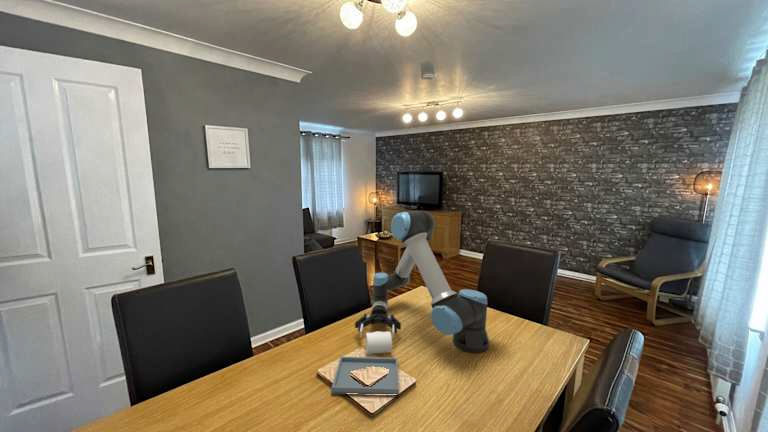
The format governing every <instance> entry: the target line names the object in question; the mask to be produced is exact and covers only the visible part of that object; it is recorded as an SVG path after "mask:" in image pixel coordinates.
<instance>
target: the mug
mask: <svg viewBox="0 0 768 432" xmlns="http://www.w3.org/2000/svg"><path fill="white" fill-rule="evenodd" d="M365 350H366V351H365V352H366V354H367V355H374V354H387V353H392V351H393V338H392V333H391V331H379V330H376V331H373V332H366V333H365Z"/></svg>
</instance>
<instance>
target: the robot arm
mask: <svg viewBox="0 0 768 432" xmlns="http://www.w3.org/2000/svg"><path fill="white" fill-rule="evenodd" d="M435 227H436V223H435V219H434V217H433V216H432V215H431V213H429V212H428V211H427V210H426V211H425V210H413V211H412V210H411V211H403V212H398V213H396V214H395V215H394V216H393V217H392V220H391V224H390V232H391V234H392V236H393V238H395V239H396V240H398V241H401V243H402V245H403V247H406V248H405V249H404V252H403V254H402V256H401V259H400V261H399V262H398V264H397V266H396V268H395V270H394V272H393V273H392V274H387V273H386V272H376V273H375V274H374V275H373V280H372V285H373V286H372V287H373V289H372V291H373V293H372V307H371V313H370V314H369V315H368V314H367V313H364V314H363V316H361V317H360V318H359V319H357V320H356V321H355V322H354V328H355V329H357V332H359V338H360V339H361V338H362V337H363V332H364V329H365V327H368V326H370V325H374V324H383V325H384V326H388V328H391V329H392V333H391V337H392V339H395V334H397V333H398V330H401V329H402V323H401V322H400V321H399V320H398V319H397V318H396V317H395V316H394V314H390V316H389V315H388V304H389V299H388V296H389V295H388V294H389V291H391V290H394V289H397V288H402V287H404V286H406V285H408V284H409V283H410V281H411V276H410V274H411V272H412V270H413V269H414V266H415V265H416V267H417V269H418V272H419V274H420V276H421V277H422V280H423V282H424V283H425V284H424V285H425V286H426V288H427V291H428V293H429V295H430V296H431V297H430V298H431V303H430V306H431V308H432V310H431V312H430V320H431V322H432V325H433V326H434V327H435V329H436V330H437V331H438V332H440V333H442V334H444V335H446V336H452V344H453V345H454V346H455V347H456V348H458V349H460V350H462V351H464V352H467V353H472V354H480V353H484V352H487V350H488V349H489V347H490V339H489V336H488V332H487V327H486V326H487V313H488V297H487V295H486V294H485V293H483V292H480V291H479V290H473V289H468V288H467V289H466V288H464V289H460V290H459V292H456V291H454V290H452V288H451V287H450V285H449V283H448V281H447V279H446V276H445V275H444V272H443V271H442V269H441V266H440V265H439V263H438V261H437V259H436V256H435V255H434V253H433V250H432V249H431V247H430V245H429V243H428V242H429V241H430V240H431V238H432V237H433V235H434V231H435V229H436V228H435Z"/></svg>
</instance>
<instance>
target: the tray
mask: <svg viewBox="0 0 768 432" xmlns="http://www.w3.org/2000/svg"><path fill="white" fill-rule="evenodd" d="M372 366H374V367H381V368H382V367H384V368H386V369H389V373H388V375H387V376H386V377H385V378H383V379H382V380H380V381H379V382H378V383H376V384H375V385H373V386H372V387H363V386H362V385H361V384H359V383H358V382H357V381H355V380H354V379H353V378H352V377H351V376H350V372H351V371H354V370H358V369H362V368H363V369H366V367H372ZM335 370H336V371H335V375H334V377H333V381H332V384H331V395H339V396H340V395H343V396H346V395H345V393H358V394H397V395H398V396H399V394H400V393H399V392H400V391H399V389H400V388H399V360H398V357H376V356H375V357H372V356H341V355H340V357H339V360H338V365H337V368H336V369H335Z"/></svg>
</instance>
